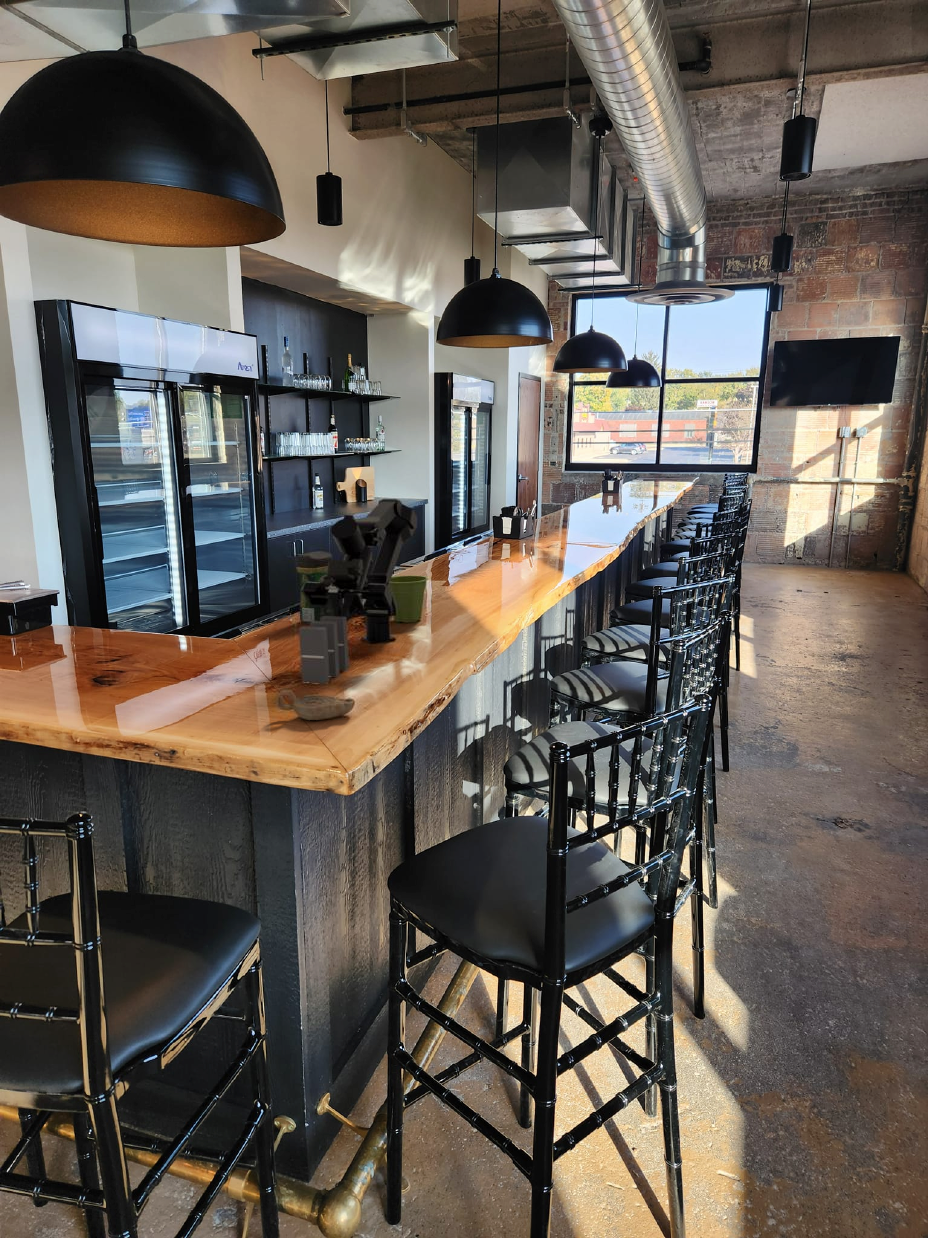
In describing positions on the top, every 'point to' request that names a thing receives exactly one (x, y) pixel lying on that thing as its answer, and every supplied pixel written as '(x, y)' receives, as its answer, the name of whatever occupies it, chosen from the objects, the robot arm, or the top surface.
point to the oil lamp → (316, 705)
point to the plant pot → (408, 597)
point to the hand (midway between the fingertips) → (337, 628)
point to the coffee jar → (314, 570)
